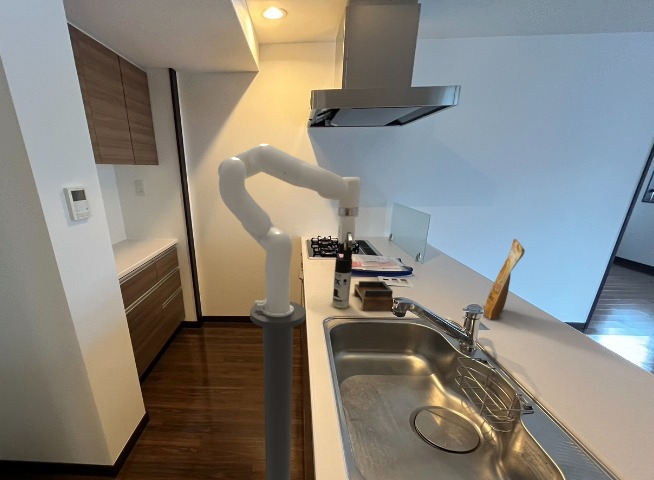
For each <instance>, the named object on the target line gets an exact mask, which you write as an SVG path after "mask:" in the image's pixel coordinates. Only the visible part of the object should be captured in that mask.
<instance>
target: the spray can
mask: <svg viewBox="0 0 654 480" xmlns="http://www.w3.org/2000/svg"><path fill="white" fill-rule="evenodd" d="M334 265H335V266H334V277H333V291H332V306H333V307H334V308H337V309H347V308H348V307H349V305H350V304H349V303H350V294H351V282H352V272H353V271H352V270H353V259H352V260H343V256H342V257H336V258H335V264H334Z"/></svg>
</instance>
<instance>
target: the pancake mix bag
mask: <svg viewBox="0 0 654 480" xmlns="http://www.w3.org/2000/svg"><path fill="white" fill-rule="evenodd" d="M524 255H525V248H524V247H523V245H522V244H521V243H520V242H519V240H518V239H517V238H513V239H512V245H511V248H510V251H509V252H508V255H507V257H506V259H505V262H504V263H503V266H502V267H501V269H500V270H499V273H498V274H497V276H496V279H495V280H494V283H493V285H492V287H491V289H490V291H489V294H488V296H487V298H486V302H485V306H484V317H485V318H488V319H489V320H497V319H499V318H500V316H501V314H502V313H503V311H504V308H505V305H506V302H507V298H508V294H509V289H510V282H511V277H512V275H511V273H512V271H513V270H514V268H515V267H516V265H518V263H519V261H520V260H521V259H523V258H522V257H524Z"/></svg>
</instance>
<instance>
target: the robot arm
mask: <svg viewBox="0 0 654 480" xmlns="http://www.w3.org/2000/svg"><path fill="white" fill-rule="evenodd" d="M259 173H263V174H264V173H265V174H266V175H269V176H271V177H273V178H276V179H279V180H280V181H282V182H284V183H287V184H289V185H292V186H295V187H299V188H303V189H307V190H310V191H313V192H317V194H318V196H320V197H321V198H323V199H327V200H334V201H338V202H337V217H339V218H338V227H337V228H338V229H337V236H336V237H337V241H338V242H339V247H338V254H339V255H342V257H343V260H352V261H353V244H354V242H355V234H356V218H357V217H359V209H360V197H361V185H362V181H361V178H360V177H359V176H344V177H342V176H341V175H338V174H337V173H334V172H332V171H330V170H328V169H326V168H323V167H320V166H318V165H315V164H313V163H310V162H308V161H306V160H304V159H302V158H299V157H297V156H295V155H292V154H289V153H288V152H286V151H283V150H281V149H279V148H277V147H275V146H274V145H271V144H268V143H260V144H258V145H255V146H253V147H251V148H249V149H247V150H245V151H242V152H240V153H237V154H235V155H233V156H230V157H227V158H225V159H223V160H222V161H220V163H219V166H218V167H217V175H218V177H219V178H218V191H219V195H220V198H221V200H222V202H223V203H224V205H225V206H226V207H227V209H228V210H229V211H230V212H231V213H232V214H233V215H234V216H235V218H236V219H237V220H238V221H239V222H240V223H241V226H242V228H243V229H244V230H245V231H246V233H248V234H249V235H250V236H251V237H252V239H254V240H255V242H257V243H258V245H260V247H261V248H262V249H263V250H264V251H265V261H264V263H265V264H264V269H265V270H264V274H265V277H264V278H265V298H264V299H262V300H254V306H255V305H257V307H262V312H263V313H264V314H265V315H267V316H271V317H285V316H289V315H291V314H292V313H293V312H294V308H293V306H291V305H290V302H291V263H292V255H293V241H292V239H291V237H290V236H289V234H288V233H286V232H285V231H283V230H281V229H280V228H278V227H277V226H276V224H274V222H273V221H272V220H271V218H270V215H269V214H268V213H267V212H266V211H265V209H263V208H262V206H260V205H259V203H258V202H257V201H256V200H255V199H254V198H253V197H252V195H251V194H250V193H249V191H248V190H247V188H246V184H245V183H246V182H245V181H246V179H248V178H249V179H250V178H251V177H253V176H255V175H258V174H259Z"/></svg>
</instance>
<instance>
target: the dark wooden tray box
mask: <svg viewBox="0 0 654 480" xmlns="http://www.w3.org/2000/svg"><path fill="white" fill-rule="evenodd" d="M393 292H394V290H393V289H392V288H391V287H390V286H389V285H388V284H387V283H386V282H385V280H384V281H383V280H359V281H358V283H354V287H353V296H354V297H360V299H361V311H372V312H373V311H374V312H376V311H378V312H379V311H380V312H381V311H382V312H385V311H386V312H392V311H391V309H392V307H393V308H394V305H395V301H394V302H393V299H394V300H395V298H394V297H393V294H394V293H393Z"/></svg>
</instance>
